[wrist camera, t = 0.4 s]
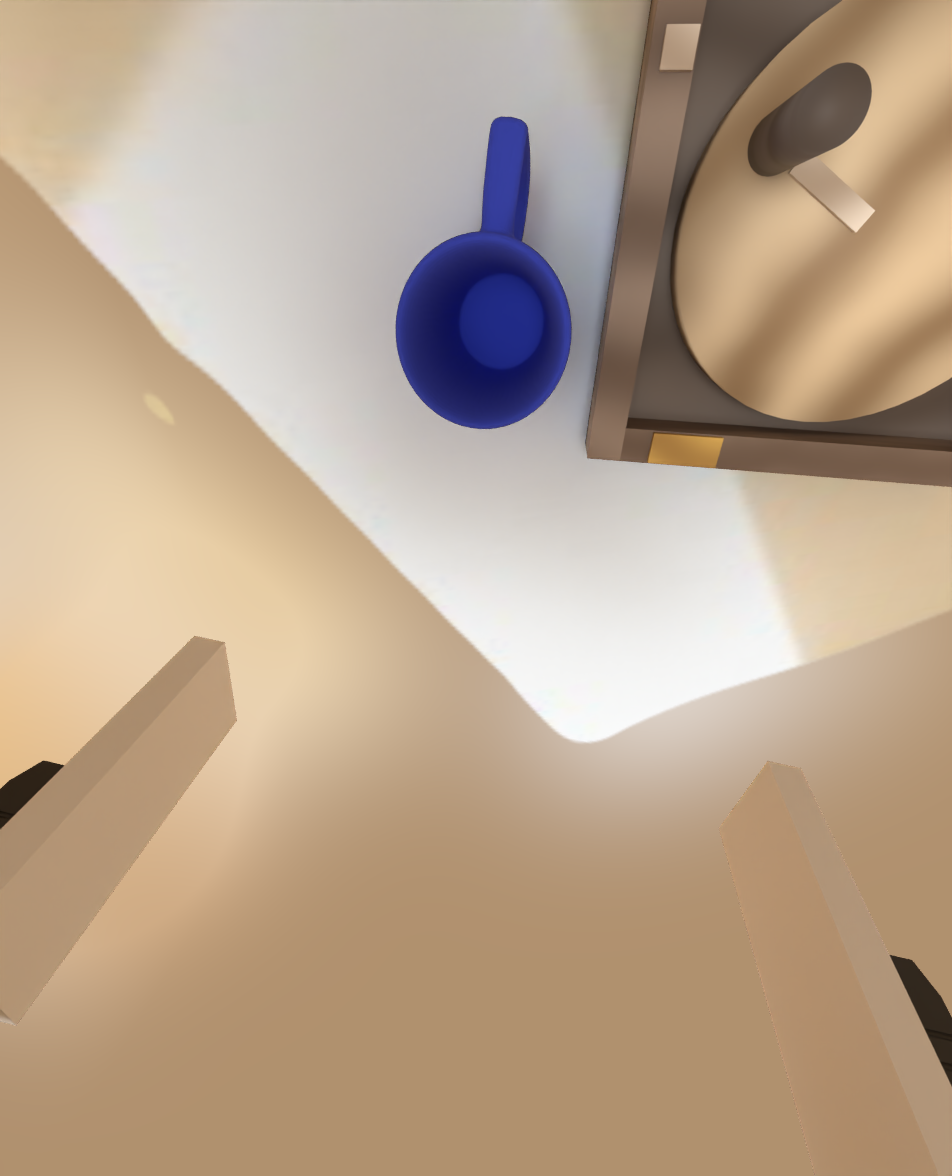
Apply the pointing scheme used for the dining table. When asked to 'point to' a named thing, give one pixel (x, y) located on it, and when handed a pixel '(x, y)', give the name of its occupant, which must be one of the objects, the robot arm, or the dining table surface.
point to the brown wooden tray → (643, 292)
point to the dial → (827, 221)
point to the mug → (487, 306)
